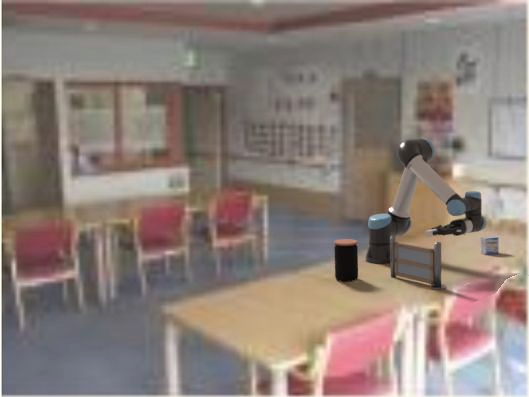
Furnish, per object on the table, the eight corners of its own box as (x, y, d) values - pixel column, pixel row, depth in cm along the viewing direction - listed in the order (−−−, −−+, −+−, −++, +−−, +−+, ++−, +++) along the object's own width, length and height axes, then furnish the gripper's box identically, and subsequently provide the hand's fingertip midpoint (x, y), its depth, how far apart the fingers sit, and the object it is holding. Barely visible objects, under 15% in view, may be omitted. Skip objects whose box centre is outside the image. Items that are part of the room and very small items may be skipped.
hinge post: (430, 289, 303) (430, 244, 300) (431, 285, 309) (430, 241, 306) (445, 289, 301) (444, 244, 299) (445, 286, 307) (444, 241, 304)
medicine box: (485, 255, 363) (485, 238, 362) (480, 253, 368) (480, 237, 366) (498, 253, 365) (498, 237, 364) (493, 251, 370) (493, 235, 368)
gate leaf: (436, 283, 307) (435, 249, 305) (433, 284, 306) (433, 249, 304) (397, 274, 326) (396, 241, 323) (394, 275, 325) (394, 242, 322)
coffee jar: (343, 275, 334) (342, 238, 331) (362, 278, 327) (361, 240, 324) (330, 280, 325) (329, 242, 323) (350, 283, 319) (349, 244, 316)
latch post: (390, 277, 326) (389, 237, 323) (390, 276, 328) (390, 236, 326) (395, 277, 325) (395, 237, 323) (396, 276, 328) (395, 236, 325)
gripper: (471, 236, 325) (437, 244, 311) (449, 233, 335) (415, 240, 322) (471, 220, 324) (437, 227, 310) (449, 217, 335) (415, 224, 321)
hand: (426, 234), depth 316 cm, fingers closed
